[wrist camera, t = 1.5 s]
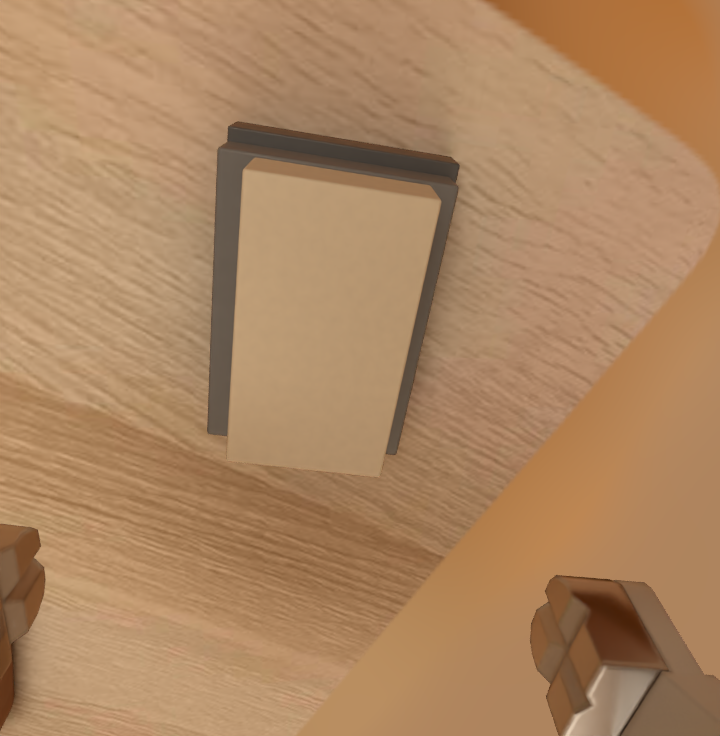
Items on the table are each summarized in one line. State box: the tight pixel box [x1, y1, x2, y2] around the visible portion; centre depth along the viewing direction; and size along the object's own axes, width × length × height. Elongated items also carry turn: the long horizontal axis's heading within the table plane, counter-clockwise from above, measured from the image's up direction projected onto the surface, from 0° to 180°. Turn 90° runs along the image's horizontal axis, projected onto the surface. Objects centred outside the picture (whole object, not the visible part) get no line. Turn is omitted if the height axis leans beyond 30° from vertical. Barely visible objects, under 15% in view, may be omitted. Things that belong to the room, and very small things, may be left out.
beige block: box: [226, 157, 441, 478], centre depth 17 cm, size 9×5×2 cm, turn 171°
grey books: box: [207, 122, 460, 455], centre depth 19 cm, size 10×7×3 cm
